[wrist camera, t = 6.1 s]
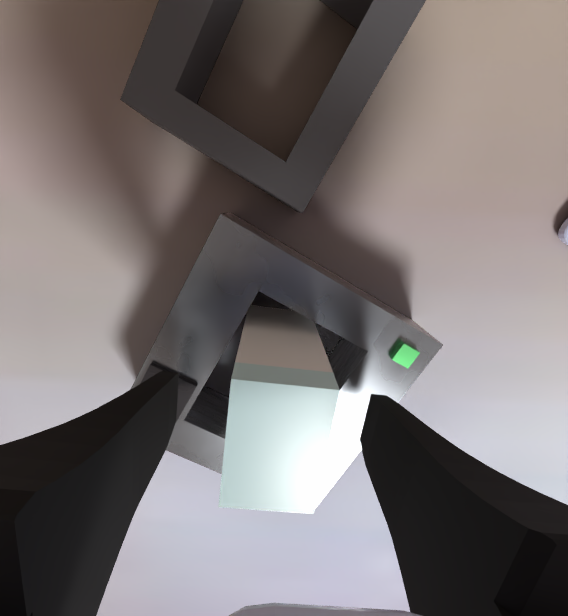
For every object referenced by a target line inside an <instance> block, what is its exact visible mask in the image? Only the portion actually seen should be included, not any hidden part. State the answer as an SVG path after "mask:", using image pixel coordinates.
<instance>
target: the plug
mask: <svg viewBox="0 0 568 616" xmlns="http://www.w3.org/2000/svg"><path fill="white" fill-rule="evenodd" d="M339 391H340V390H339V387H338V384H337V382H336V379H335V376H334V374H333V371H332V368H331V365H330V363H329V360H328V357H327V355H326V352H325V349H324V347H323V344H322V341H321V338H320V336H319V333H318V330H317V328H316V325H315V322H314V321H312V320H310V319H308V318H307V317H305V316H303V315H301V314H299V313H298V312H296V311H294V310H288V309H280V308H272V307H263V306H255V305H250V307H249V309H248V311H247V315H246V319H245V323H244V327H243V331H242V336H241V340H240V344H239V348H238V352H237V356H236V361H235V365H234V369H233V373H232V377H231V385H230V395H229V405H228V415H227V426H226V436H225V446H224V456H223V466H222V476H221V486H220V496H219V507H222V508H235V509H249V510H263V511H277V512H291V513H304V514H314V509H315V505H316V500H317V495H318V490H319V486H320V481H321V476H322V472H323V467H324V462H325V457H326V453H327V448H328V443H329V438H330V434H331V429H332V424H333V419H334V415H335V410H336V405H337V400H338V396H339Z"/></svg>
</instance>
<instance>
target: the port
mask: <svg viewBox="0 0 568 616" xmlns="http://www.w3.org/2000/svg"><path fill="white" fill-rule="evenodd" d="M259 291H260V292H261V293H263V294H265V295H267V296H269V297H270V298H272V299H274V300H276V301H278V302H279V303H281V304H283V305H285V306H287V307H288V308H290V309H292V310H294V311H296V312H298V313H299V314H301V315H303V316H305V317H307V318H308V319H310V320H312V321H314V322H316V323H317V324H319V325H321V326H323V327H325V328H326V329H328V330H330V331H332V332H334V333H335V334H337V335H339V336H341V337H342V339H341V340H340V342H339V343H338V345H337V346H336V347H335V349H334V350H333V352H332V353H331V355H330V356H329V358H328V360H329V363H330V365H331V368H332V371H333V374H334V376H335V379H336V382H337V384H338V387H339V390H340V391H339V396H338V400H337V405H336V410H335V415H334V419H333V424H332V429H331V434H330V438H329V443H328V448H327V453H326V457H325V462H324V467H323V472H322V476H321V481H320V486H319V490H318V495H317V500H316V505H315V508H316V507H317V506H318V505H319V503H320V502H321V501H322V499H323V498H324V497H325V496H326V494H327V493H328V492H329V490H330V489H331V488H332V487H333V485H334V484H335V483H336V481H337V480H338V479H339V478H340V476H341V475H342V474H343V472H344V471H345V470H346V469H347V467H348V466H349V465H350V464H351V462H352V461H353V460H354V458H355V457H356V456H357V455H358V453H359V452H360V451H361V449H362V447H361V442H360V436H361V432H362V428H363V424H364V420H365V416H366V412H367V408H368V404H369V400H370V396H371V394H377V395H387V396H388V397H390V398H391V399H393V400H394V401H396V402H397V403H398V402H399V401H400V399H401V398H402V397H403V396H404V394H405V393H406V392H407V390H408V389H409V388H410V387H411V385H412V384H413V383H414V381H415V380H416V379H417V378H418V376H419V375H420V374H421V373H422V371H423V370H424V369H425V367H426V366H427V365H428V364H429V362H430V361H431V360H432V358H433V357H434V356H435V355H436V353H437V352H438V351H439V349H440V348H441V347H442V346H443V344H441V343H440V342H439V341H438V340H436V339H435V338H434V337H433V336H431V335H430V334H429V333H428V332H426V331H425V330H424V329H423V328H422V327H420V326H419V325H418V324H417V323H415V322H414V321H413V320H411V319H410V318H408V317H406V316H405V315H403V314H401V313H400V312H398V311H396V310H394V309H393V308H391V307H389V306H388V305H386V304H384V303H383V302H381V301H379V300H378V299H376V298H374V297H373V296H371V295H369V294H367V293H366V292H364V291H362V290H361V289H359V288H357V287H356V286H354V285H352V284H351V283H349V282H347V281H346V280H344V279H342V278H340V277H339V276H337V275H335V274H334V273H332V272H330V271H329V270H327V269H325V268H324V267H322V266H320V265H319V264H317V263H315V262H314V261H312V260H310V259H308V258H307V257H305V256H303V255H302V254H300V253H298V252H297V251H295V250H293V249H292V248H290V247H288V246H287V245H285V244H283V243H281V242H280V241H278V240H276V239H275V238H273V237H271V236H270V235H268V234H266V233H265V232H263V231H261V230H260V229H258V228H256V227H254V226H253V225H251V224H249V223H248V222H246V221H244V220H243V219H241V218H239V217H238V216H236V215H234V214H233V213H223V214H220V216H219V218H218V219H217V221H216V223H215V225H214V227H213V229H212V231H211V233H210V235H209V237H208V239H207V241H206V243H205V245H204V247H203V249H202V251H201V253H200V255H199V257H198V259H197V261H196V263H195V264H194V266H193V268H192V270H191V272H190V274H189V276H188V278H187V280H186V282H185V284H184V286H183V288H182V290H181V292H180V294H179V296H178V298H177V300H176V302H175V304H174V306H173V307H172V309H171V311H170V313H169V315H168V317H167V319H166V321H165V323H164V325H163V327H162V329H161V331H160V333H159V335H158V337H157V339H156V341H155V343H154V345H153V347H152V349H151V350H150V352H149V354H148V356H147V358H146V360H145V362H144V364H143V366H142V368H141V370H140V372H139V374H138V376H137V378H136V380H135V382H134V384H133V386H132V388H131V389H133V388H134V387H136V386H138V385H139V384H141V383H142V382H144V381H146V380H147V379H149V378H150V377H152V376H154V375H155V374H157V373H159V372H161V371H169V372H178V373H179V381H178V399H177V417H176V423H175V426H174V429H173V432H172V435H171V438H170V440H169V443H168V446H167V448H166V450H167V451H169V452H171V453H174V454H176V455H178V456H181V457H183V458H185V459H188V460H190V461H192V462H195V463H197V464H199V465H202V466H204V467H206V468H209V469H211V470H213V471H216V472H218V473H220V474H222V466H223V456H224V446H225V436H226V426H227V415H228V405H229V397H226V396H224V395H222V394H220V393H218V392H216V391H214V390H212V389H210V388H208V387H205V386H204V385H205V383H206V381H207V379H208V378H209V376H210V374H211V373H212V371H213V369H214V367H215V366H216V364H217V362H218V360H219V359H220V357H221V355H222V354H223V352H224V350H225V348H226V347H227V345H228V343H229V342H230V340H231V338H232V336H233V335H234V333H235V331H236V329H237V328H238V326H239V324H240V323H241V321H242V319H243V317H244V316H245V314H246V312H247V311H248V309H249V307H250V305H251V304H252V302H253V300H254V298H255V297H256V295H257V293H258V292H259ZM314 510H315V509H314Z"/></svg>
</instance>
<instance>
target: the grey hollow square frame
mask: <svg viewBox="0 0 568 616" xmlns="http://www.w3.org/2000/svg"><path fill="white" fill-rule="evenodd" d="M320 1H322V2H323V3H324V4H325V5H327V6H328V7H329V8H331V9H332V10H333V11H335V12H336V13H337V14H339V15H340V16H341V17H342V18H344V19H345V20H346V21H348V22H349V23H350V24H352V25H353V26H354V27H355V28H357V29H358V30H357V32H356V33H355V35H354V37H353V39H352V41H351V43H350V45H349V46H348V48H347V50H346V52H345V54H344V56H343V57H342V59H341V61H340V63H339V65H338V67H337V68H336V70H335V72H334V74H333V76H332V78H331V80H330V81H329V83H328V85H327V87H326V89H325V91H324V92H323V94H322V96H321V98H320V100H319V102H318V104H317V105H316V107H315V109H314V111H313V113H312V115H311V116H310V118H309V120H308V122H307V124H306V126H305V128H304V129H303V131H302V133H301V135H300V137H299V139H298V140H297V142H296V144H295V146H294V148H293V150H292V151H291V153H290V155H289V157H288V159H287V161H286V162H285V161H284V160H282V159H280V158H279V157H277V156H276V155H274V154H273V153H271V152H270V151H268V150H267V149H265V148H263V147H262V146H260V145H259V144H257V143H256V142H254V141H253V140H251V139H249V138H248V137H246V136H245V135H243V134H242V133H240V132H239V131H237V130H236V129H234V128H232V127H231V126H229V125H228V124H226V123H225V122H223V121H222V120H220V119H219V118H217V117H215V116H214V115H212V114H211V113H209V112H208V111H206V110H205V109H203V108H202V107H200V106H198V105H197V102H198V100H199V97H200V95H201V93H202V91H203V89H204V86H205V84H206V82H207V80H208V77H209V75H210V73H211V71H212V69H213V66H214V64H215V62H216V60H217V58H218V55H219V53H220V51H221V49H222V46H223V44H224V42H225V40H226V38H227V35H228V33H229V31H230V29H231V26H232V24H233V22H234V20H235V18H236V15H237V13H238V11H239V9H240V7H241V4H242V2H243V0H159V2H158V5H157V7H156V10H155V12H154V15H153V17H152V20H151V22H150V25H149V28H148V30H147V33H146V35H145V38H144V40H143V43H142V45H141V48H140V51H139V53H138V56H137V58H136V61H135V63H134V66H133V68H132V71H131V74H130V76H129V79H128V81H127V84H126V86H125V89H124V91H123V94H122V96H121V99H120V100H122V101H123V102H124V103H126V104H127V105H129V106H130V107H131V108H133V109H134V110H136V111H137V112H138V113H140V114H141V115H143V116H144V117H146V118H147V119H148V120H150V121H152V122H153V123H155V124H156V125H158V126H160V127H161V128H163V129H165V130H166V131H168V132H169V133H171V134H173V135H174V136H176V137H177V138H179V139H181V140H182V141H184V142H186V143H187V144H189V145H190V146H192V147H194V148H195V149H197V150H198V151H200V152H202V153H203V154H205V155H207V156H208V157H210V158H211V159H213V160H215V161H216V162H218V163H219V164H221V165H223V166H224V167H226V168H228V169H229V170H231V171H232V172H234V173H236V174H237V175H239V176H240V177H242V178H244V179H245V180H247V181H249V182H250V183H252V184H253V185H255V186H257V187H258V188H260V189H261V190H263V191H265V192H266V193H268V194H270V195H271V196H273V197H274V198H276V199H278V200H279V201H281V202H282V203H284V204H286V205H287V206H289V207H291V208H292V209H294V210H295V211H297V212H301V213H303V212H304V210H305V208H306V206H307V205H308V203H309V201H310V200H311V198H312V196H313V194H314V193H315V191H316V189H317V187H318V186H319V184H320V182H321V181H322V179H323V177H324V175H325V174H326V172H327V170H328V168H329V167H330V165H331V163H332V162H333V160H334V158H335V156H336V155H337V153H338V151H339V149H340V148H341V146H342V144H343V143H344V141H345V139H346V137H347V136H348V134H349V132H350V130H351V129H352V127H353V125H354V124H355V122H356V120H357V118H358V117H359V115H360V113H361V111H362V110H363V108H364V106H365V105H366V103H367V101H368V99H369V98H370V96H371V94H372V92H373V91H374V89H375V87H376V86H377V84H378V82H379V80H380V79H381V77H382V75H383V73H384V72H385V70H386V68H387V67H388V65H389V63H390V61H391V60H392V58H393V56H394V54H395V53H396V51H397V49H398V48H399V46H400V44H401V42H402V41H403V39H404V37H405V36H406V34H407V32H408V30H409V29H410V27H411V25H412V23H413V22H414V20H415V18H416V17H417V15H418V13H419V11H420V10H421V8H422V6H423V4H424V3H425V1H426V0H320Z"/></svg>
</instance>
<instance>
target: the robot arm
mask: <svg viewBox="0 0 568 616" xmlns="http://www.w3.org/2000/svg"><path fill="white" fill-rule="evenodd" d="M558 236H559V239H560V240H561V241H562V242H564V243H565V244H566V245H568V218H567V219H566V220H565V222H564V223H563V224H562V225H561V227H560V229H559V232H558ZM178 381H179V373H178V372H169V371H161V372H159V373H157V374H155V375H154V376H152V377H150V378H149V379H147V380H146V381H144V382H142V383H141V384H139V385H138V386H136V387H134V388H133V389H131V390H129V391H128V392H126V393H124V394H123V395H121V396H119V397H117V398H115V399H113V400H112V401H110V402H108V403H106V404H104V405H102V406H100V407H99V408H97V409H95V410H93V411H91V412H89V413H86V414H84V415H82V416H80V417H78V418H75V419H73V420H71V421H68V422H66V423H64V424H61V425H59V426H56V427H53V428H50V429H47V430H45V431H42V432H39V433H36V434H34V435H31V436H28V437H25V438H22V439H19V440H16V441H12V442H9V443H6V444H3V445H0V616H96V615H97V612H98V609H99V606H100V603H101V600H102V598H103V595H104V592H105V589H106V586H107V584H108V581H109V578H110V576H111V573H112V570H113V567H114V565H115V562H116V559H117V557H118V554H119V551H120V549H121V546H122V543H123V541H124V538H125V536H126V533H127V531H128V528H129V525H130V523H131V520H132V518H133V515H134V513H135V511H136V509H137V507H138V504H139V502H140V500H141V498H142V496H143V494H144V492H145V490H146V488H147V486H148V484H149V482H150V480H151V478H152V476H153V474H154V472H155V470H156V468H157V466H158V464H159V462H160V460H161V458H162V456H163V454H164V452H165V450H166V448H167V446H168V443H169V440H170V438H171V435H172V432H173V429H174V426H175V423H176V417H177V399H178ZM360 442H361V447H362V452H363V456H364V461H365V465H366V467H367V470H368V473H369V476H370V479H371V481H372V484H373V487H374V489H375V492H376V495H377V498H378V500H379V503H380V506H381V508H382V511H383V514H384V516H385V519H386V522H387V524H388V528H389V531H390V534H391V537H392V540H393V544H394V548H395V551H396V555H397V559H398V563H399V566H400V570H401V574H402V578H403V582H404V587H405V591H406V595H407V599H408V603H409V607H410V612H411V613H410V612H407V611H400V610H383V609H367V608H350V607H333V606H316V605H300V604H283V603H269V604H261V605H253V606H245V607H243V608H241V609H240V610H238V611H236V612H234V613H233V614H231V615H229V616H568V505H566V504H564V503H562V502H559V501H557V500H555V499H553V498H550V497H548V496H546V495H544V494H541V493H539V492H537V491H535V490H533V489H531V488H529V487H527V486H525V485H522V484H520V483H519V482H517V481H515V480H513V479H511V478H509V477H507V476H505V475H503V474H501V473H499V472H498V471H496V470H494V469H492V468H490V467H489V466H487V465H485V464H484V463H482V462H480V461H479V460H477V459H475V458H474V457H472V456H470V455H469V454H467V453H465V452H464V451H462V450H461V449H459V448H458V447H456V446H455V445H453V444H452V443H450V442H449V441H448V440H446V439H445V438H443V437H442V436H440V435H439V434H438V433H436V432H435V431H434V430H432V429H431V428H430V427H428V426H427V425H426V424H424V423H423V422H422V421H420V420H419V419H418V418H417V417H415V416H414V415H413V414H411V413H410V412H409V411H408V410H406V409H405V408H404V407H402V406H401V405H400V404H398V403H397V402H396V401H394V400H393V399H391V398H390V397H388V396H387V395H377V394H371V396H370V400H369V404H368V408H367V412H366V416H365V420H364V424H363V428H362V432H361V436H360Z"/></svg>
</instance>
